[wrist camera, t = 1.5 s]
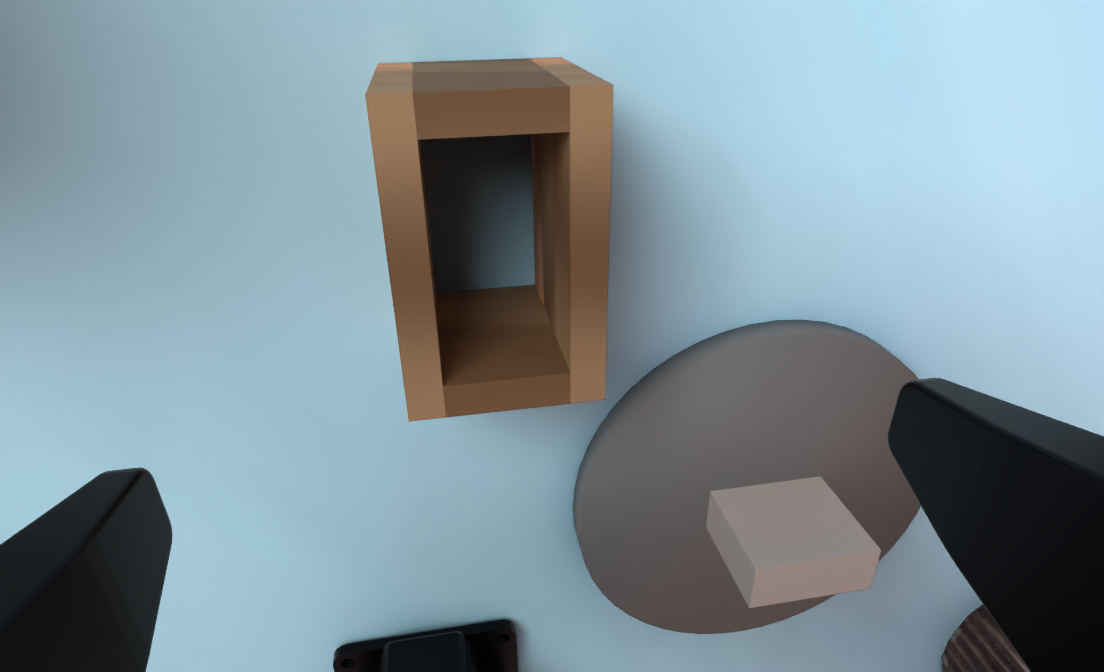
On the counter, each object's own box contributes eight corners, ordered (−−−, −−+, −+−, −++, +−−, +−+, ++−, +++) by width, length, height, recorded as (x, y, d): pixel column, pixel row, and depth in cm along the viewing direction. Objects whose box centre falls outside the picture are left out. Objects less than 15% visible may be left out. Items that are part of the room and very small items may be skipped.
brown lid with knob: (878, 586, 29) (952, 682, 25) (572, 636, 27) (600, 750, 23) (960, 302, 22) (1076, 371, 19) (573, 340, 21) (610, 425, 17)
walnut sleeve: (562, 307, 20) (605, 399, 16) (409, 321, 19) (409, 421, 15) (560, 57, 17) (613, 84, 12) (378, 63, 16) (365, 94, 12)
